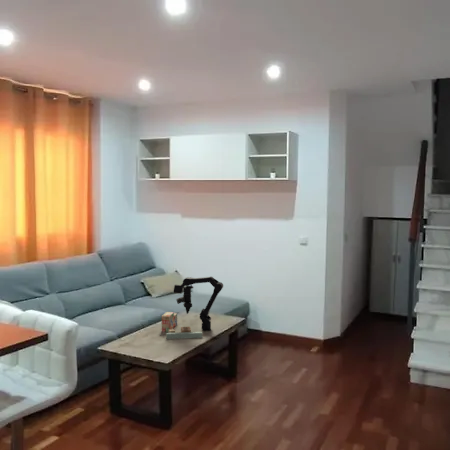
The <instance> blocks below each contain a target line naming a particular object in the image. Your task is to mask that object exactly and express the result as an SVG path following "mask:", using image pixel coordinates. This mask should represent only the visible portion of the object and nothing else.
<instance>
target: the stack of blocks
mask: <svg viewBox="0 0 450 450" xmlns="http://www.w3.org/2000/svg"><path fill="white" fill-rule="evenodd" d="M176 326H178V312H174V311H173V312H172V311H166V312H164V314H162V315H161V332H163V333H164V332H166V333H168V330H171V329H174V328H175V327H176Z"/></svg>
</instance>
